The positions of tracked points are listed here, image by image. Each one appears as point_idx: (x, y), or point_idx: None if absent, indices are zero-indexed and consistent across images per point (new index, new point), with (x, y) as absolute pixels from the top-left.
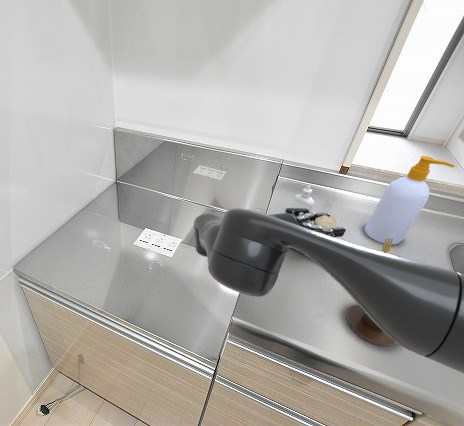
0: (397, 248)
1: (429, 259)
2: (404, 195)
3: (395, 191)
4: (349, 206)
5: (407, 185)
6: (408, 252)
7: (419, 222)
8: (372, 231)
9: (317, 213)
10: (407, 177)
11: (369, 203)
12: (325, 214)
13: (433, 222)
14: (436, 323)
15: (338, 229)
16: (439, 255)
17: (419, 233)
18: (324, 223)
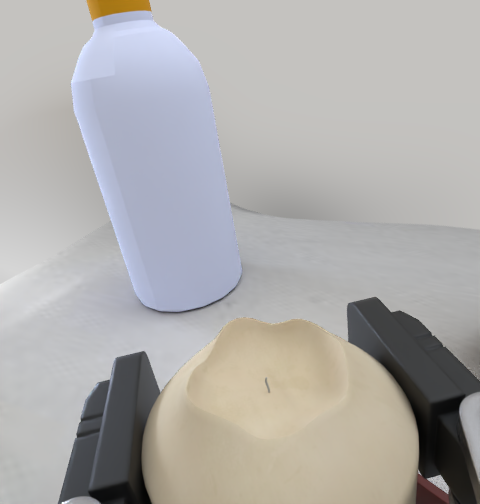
0: (258, 268)
1: (298, 234)
2: (175, 74)
3: (139, 80)
4: (10, 317)
5: (145, 36)
6: (275, 255)
7: None
8: (191, 285)
9: (72, 462)
10: (109, 17)
11: (32, 274)
12: (134, 383)
13: None
14: None
15: (414, 339)
16: (278, 222)
17: None
18: (351, 445)
